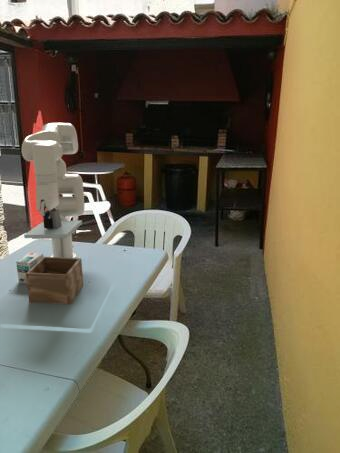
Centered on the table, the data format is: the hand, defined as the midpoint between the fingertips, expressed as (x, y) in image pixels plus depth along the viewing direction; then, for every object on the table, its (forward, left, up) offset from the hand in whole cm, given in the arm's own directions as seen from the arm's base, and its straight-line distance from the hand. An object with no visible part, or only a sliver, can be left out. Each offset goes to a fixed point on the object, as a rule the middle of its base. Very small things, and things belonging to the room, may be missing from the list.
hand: (51, 225), depth 132 cm
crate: (0, 0, -29) cm, 29 cm away
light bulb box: (-12, -16, -30) cm, 35 cm away
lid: (0, +1, -2) cm, 2 cm away
